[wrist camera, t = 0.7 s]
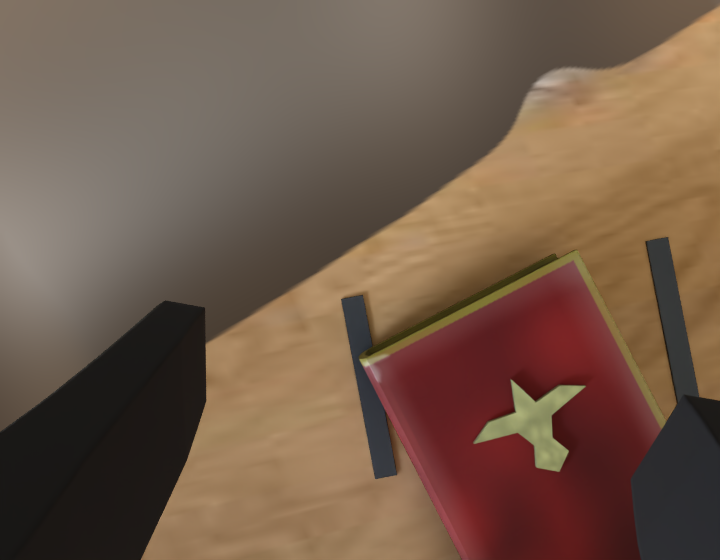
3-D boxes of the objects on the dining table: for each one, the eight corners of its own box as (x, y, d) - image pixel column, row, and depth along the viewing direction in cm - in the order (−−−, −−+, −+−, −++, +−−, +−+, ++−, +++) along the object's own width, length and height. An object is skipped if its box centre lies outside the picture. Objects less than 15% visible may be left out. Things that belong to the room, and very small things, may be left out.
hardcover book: (535, 698, 35) (558, 753, 31) (358, 354, 36) (358, 362, 31) (730, 596, 36) (780, 638, 31) (553, 253, 36) (578, 249, 32)
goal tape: (702, 416, 36) (703, 417, 36) (375, 478, 36) (375, 479, 36) (667, 237, 36) (667, 237, 36) (341, 299, 36) (341, 299, 36)
